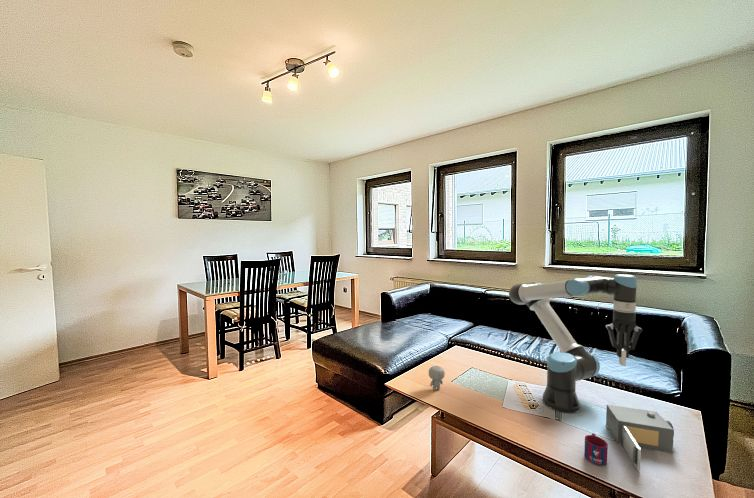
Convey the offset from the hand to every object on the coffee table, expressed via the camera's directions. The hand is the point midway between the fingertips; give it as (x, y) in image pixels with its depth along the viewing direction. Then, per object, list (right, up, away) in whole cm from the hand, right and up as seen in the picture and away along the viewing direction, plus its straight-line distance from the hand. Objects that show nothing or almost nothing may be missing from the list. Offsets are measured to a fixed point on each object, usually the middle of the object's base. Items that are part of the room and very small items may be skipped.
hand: (622, 364), depth 134 cm
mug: (-27, -26, -21) cm, 43 cm away
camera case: (-2, -25, -12) cm, 28 cm away
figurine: (-75, -24, +27) cm, 84 cm away
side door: (-15, -25, -22) cm, 36 cm away
